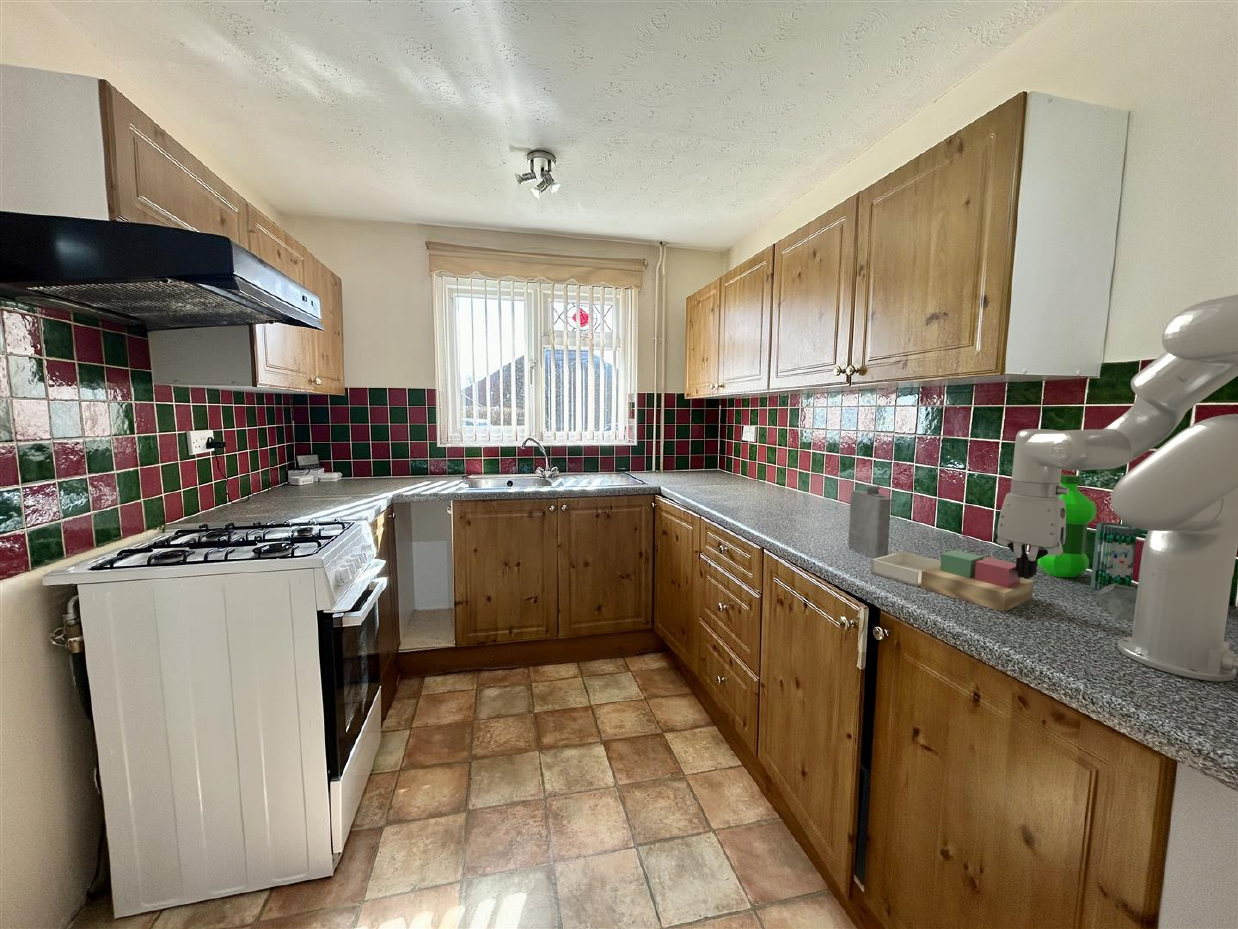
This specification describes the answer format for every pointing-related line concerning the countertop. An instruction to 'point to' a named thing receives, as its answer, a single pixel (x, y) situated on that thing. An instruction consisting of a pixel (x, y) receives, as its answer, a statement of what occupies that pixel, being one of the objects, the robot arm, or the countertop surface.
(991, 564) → the pink toy cube
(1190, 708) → the countertop surface
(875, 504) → the hip flask
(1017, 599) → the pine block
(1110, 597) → the stone
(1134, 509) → the robot arm
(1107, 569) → the green printed upright box
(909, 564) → the tray
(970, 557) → the green block
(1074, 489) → the plastic bottle
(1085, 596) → the countertop surface
